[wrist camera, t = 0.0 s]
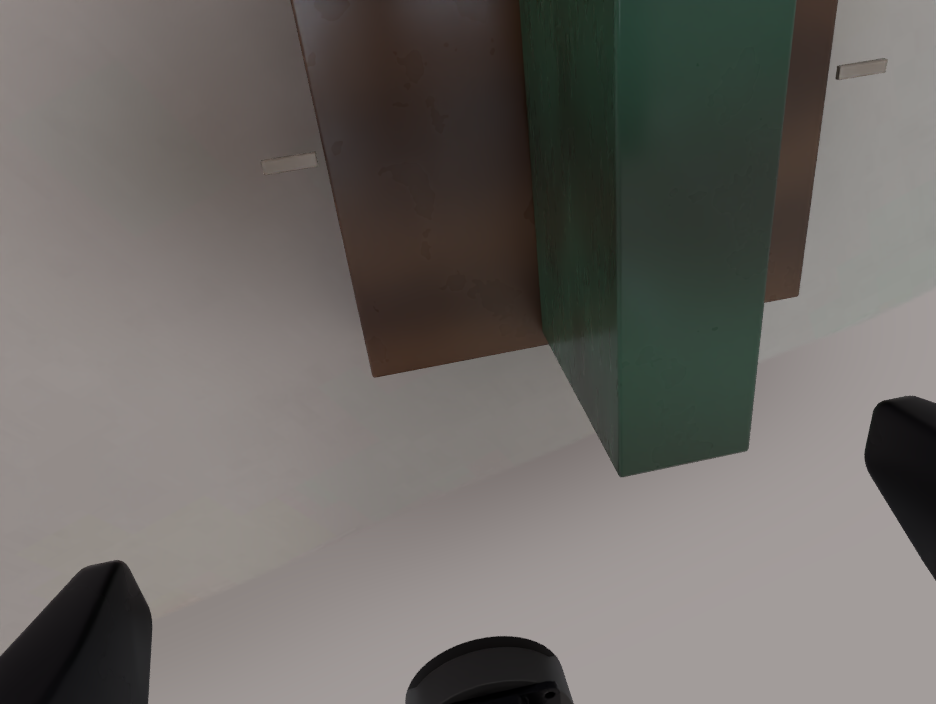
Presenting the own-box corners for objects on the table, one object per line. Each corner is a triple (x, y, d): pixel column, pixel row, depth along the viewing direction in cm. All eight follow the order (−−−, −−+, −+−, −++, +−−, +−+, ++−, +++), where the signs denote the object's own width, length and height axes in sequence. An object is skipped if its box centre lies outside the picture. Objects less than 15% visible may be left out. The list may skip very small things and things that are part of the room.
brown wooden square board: (790, 291, 28) (840, 332, 25) (330, 379, 26) (332, 433, 24) (867, -314, 19) (958, -349, 16) (174, -234, 17) (148, -259, 15)
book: (640, 314, 24) (754, 458, 18) (541, 333, 23) (623, 486, 17) (645, -191, 17) (834, -243, 11) (505, -173, 17) (618, -215, 10)
